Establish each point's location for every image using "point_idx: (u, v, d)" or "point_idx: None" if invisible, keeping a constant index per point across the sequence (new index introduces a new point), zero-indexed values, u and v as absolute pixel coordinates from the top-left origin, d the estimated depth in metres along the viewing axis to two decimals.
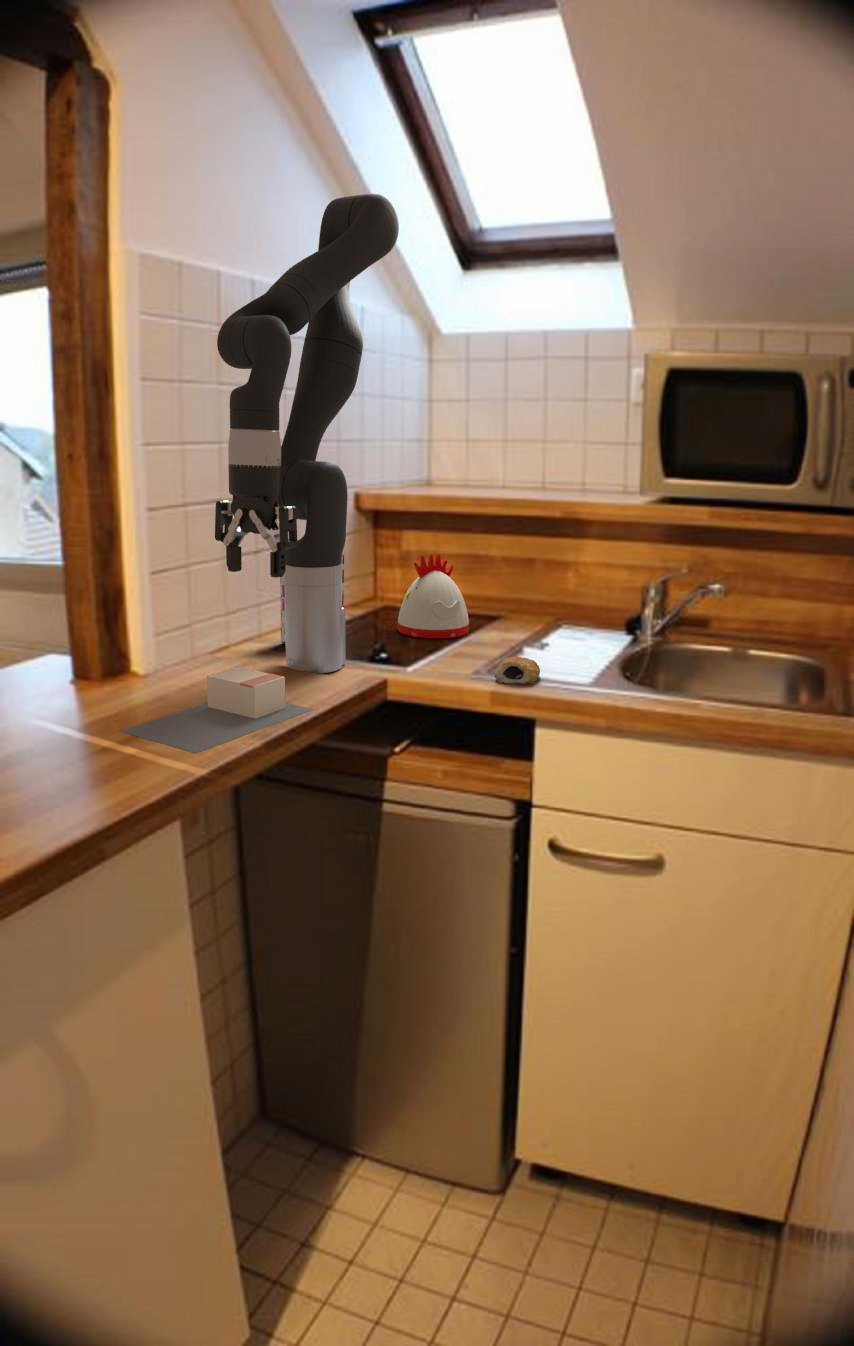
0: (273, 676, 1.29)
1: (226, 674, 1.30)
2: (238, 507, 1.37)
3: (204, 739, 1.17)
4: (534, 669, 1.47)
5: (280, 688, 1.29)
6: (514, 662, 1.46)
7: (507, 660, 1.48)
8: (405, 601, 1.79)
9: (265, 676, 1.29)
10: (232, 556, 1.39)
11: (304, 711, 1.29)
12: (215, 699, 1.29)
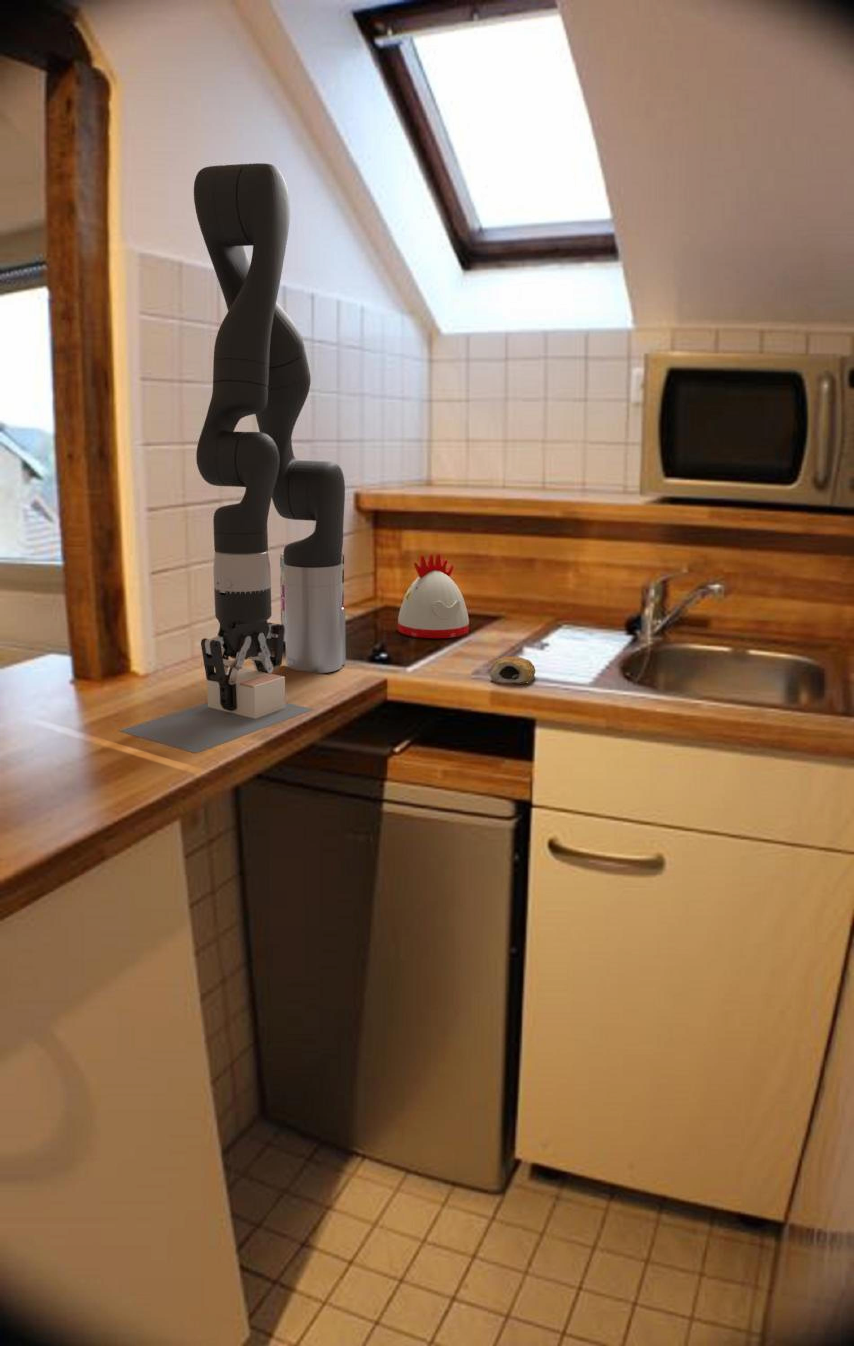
0: (273, 676, 1.29)
1: (226, 674, 1.30)
2: (237, 634, 1.25)
3: (204, 739, 1.17)
4: (530, 669, 1.47)
5: (280, 688, 1.29)
6: (510, 662, 1.46)
7: (503, 660, 1.48)
8: (405, 601, 1.79)
9: (265, 676, 1.29)
10: None
11: (304, 711, 1.29)
12: (215, 699, 1.29)
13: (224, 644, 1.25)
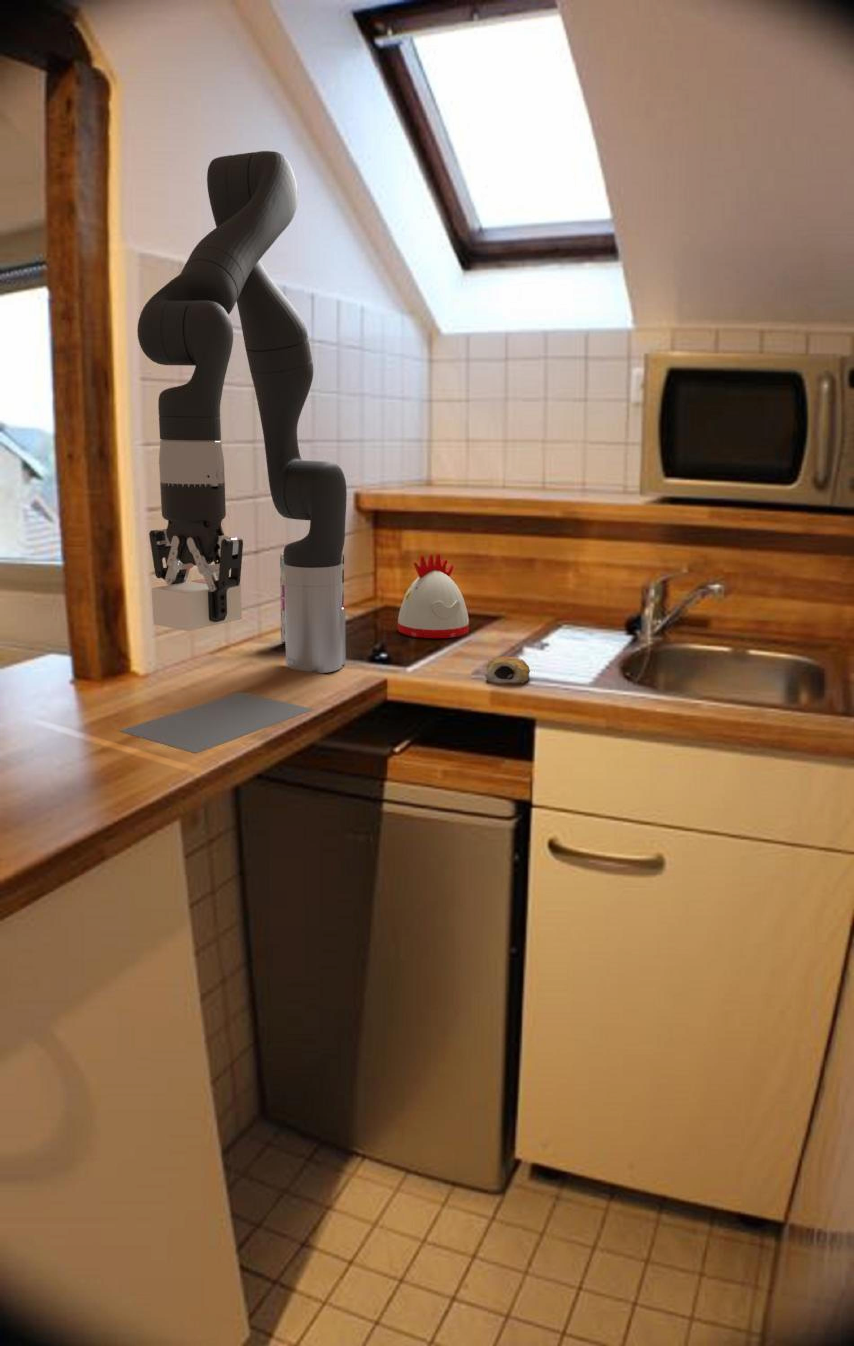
0: (204, 580, 1.18)
1: (183, 589, 1.12)
2: None
3: (204, 739, 1.17)
4: (525, 669, 1.47)
5: None
6: (505, 662, 1.46)
7: (497, 660, 1.48)
8: (405, 601, 1.79)
9: (202, 581, 1.17)
10: None
11: (304, 711, 1.29)
12: (197, 618, 1.11)
13: None
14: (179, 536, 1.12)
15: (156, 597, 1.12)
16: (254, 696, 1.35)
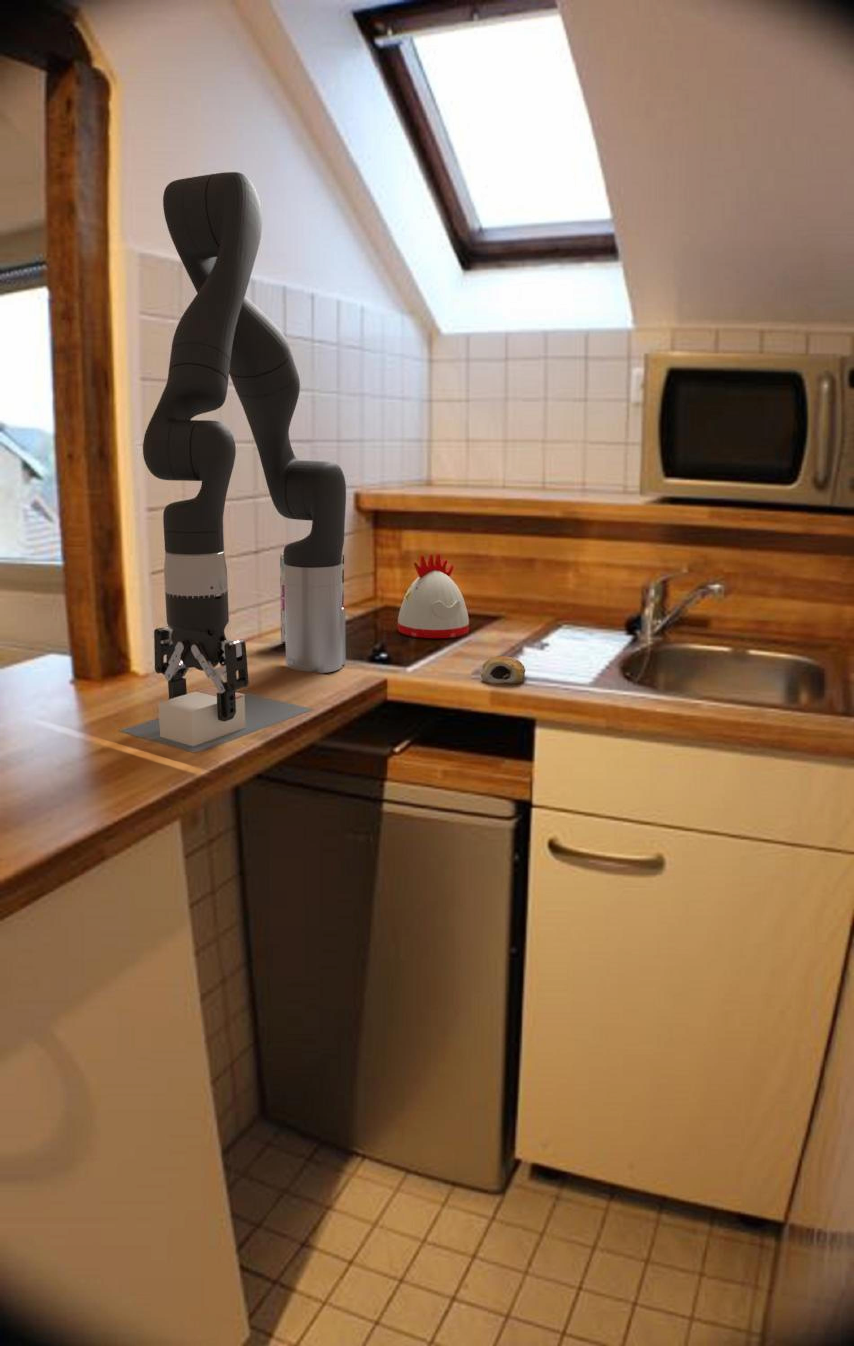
0: (209, 690, 1.22)
1: (188, 705, 1.16)
2: None
3: None
4: (521, 668, 1.47)
5: None
6: (501, 662, 1.46)
7: (493, 660, 1.48)
8: (405, 601, 1.79)
9: (207, 692, 1.21)
10: None
11: (304, 711, 1.29)
12: (202, 733, 1.15)
13: None
14: (184, 643, 1.16)
15: (162, 712, 1.16)
16: (254, 696, 1.35)
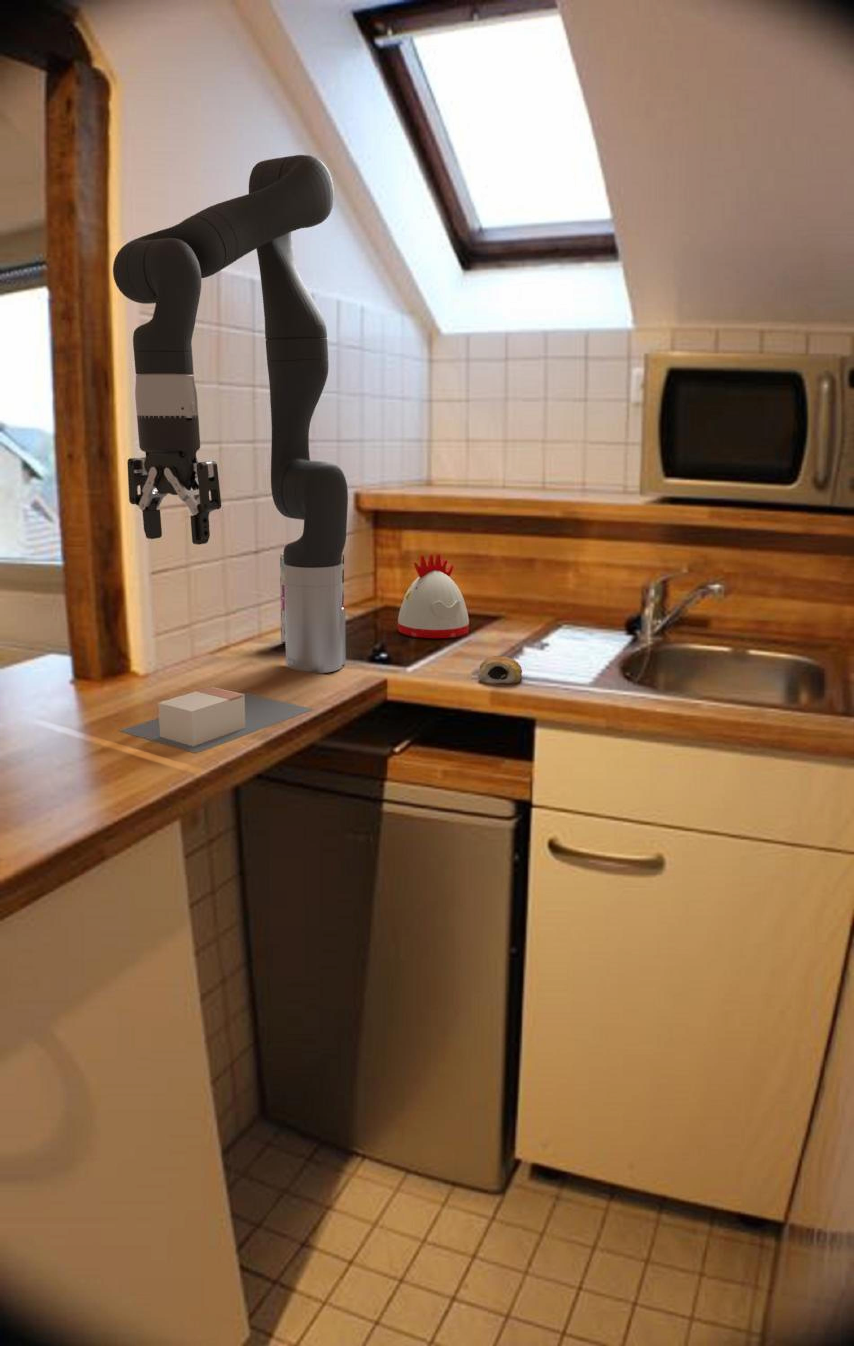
0: (209, 690, 1.22)
1: (188, 705, 1.16)
2: None
3: None
4: (518, 668, 1.47)
5: None
6: (499, 662, 1.46)
7: (490, 660, 1.48)
8: (405, 601, 1.79)
9: (207, 692, 1.21)
10: None
11: (304, 711, 1.29)
12: (202, 733, 1.15)
13: None
14: (157, 468, 1.19)
15: (162, 712, 1.16)
16: (254, 696, 1.35)
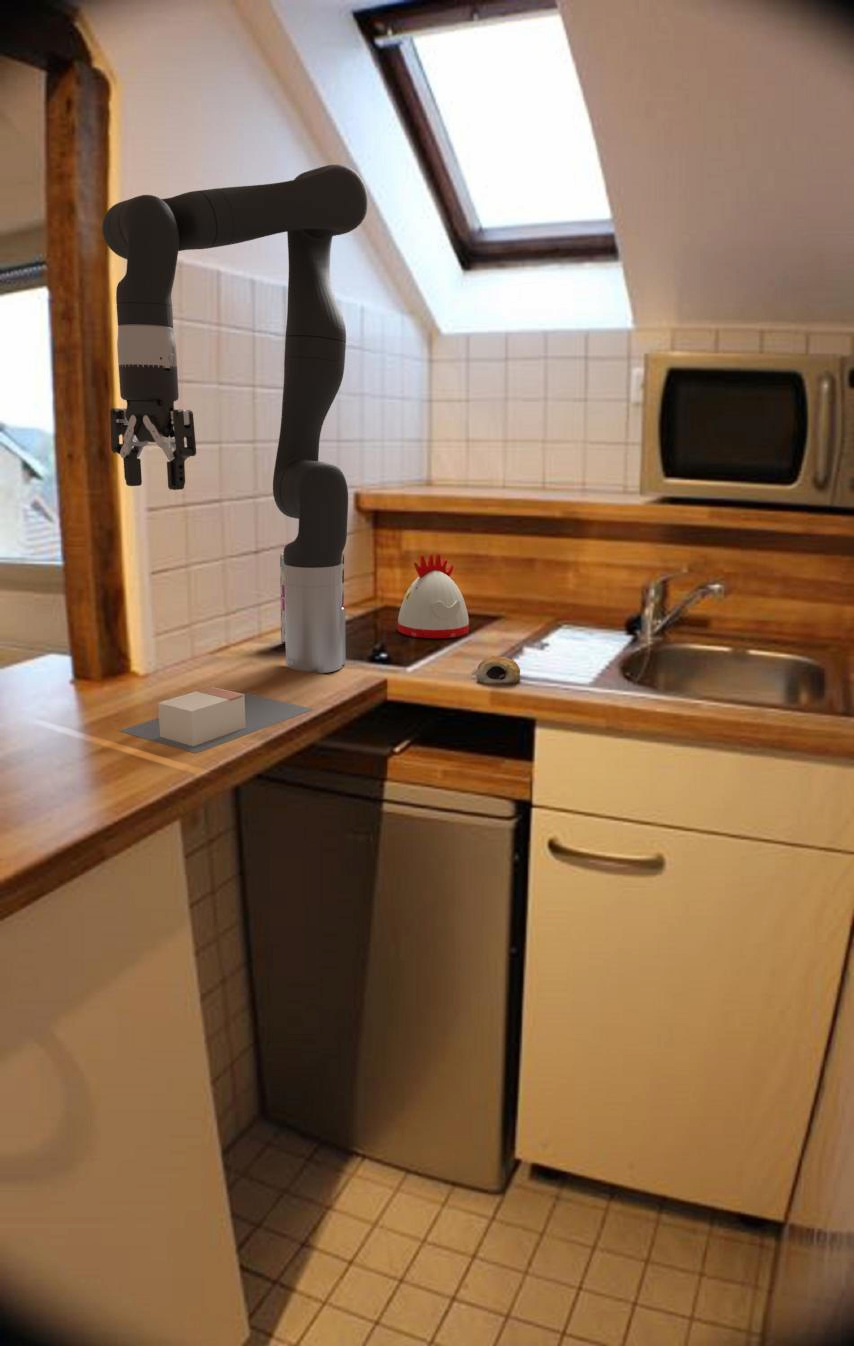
0: (209, 690, 1.22)
1: (188, 705, 1.16)
2: None
3: None
4: (516, 668, 1.47)
5: None
6: (497, 662, 1.46)
7: (488, 660, 1.48)
8: (405, 601, 1.79)
9: (207, 692, 1.21)
10: None
11: (304, 711, 1.29)
12: (202, 733, 1.15)
13: None
14: (137, 416, 1.25)
15: (162, 712, 1.16)
16: (254, 696, 1.35)
